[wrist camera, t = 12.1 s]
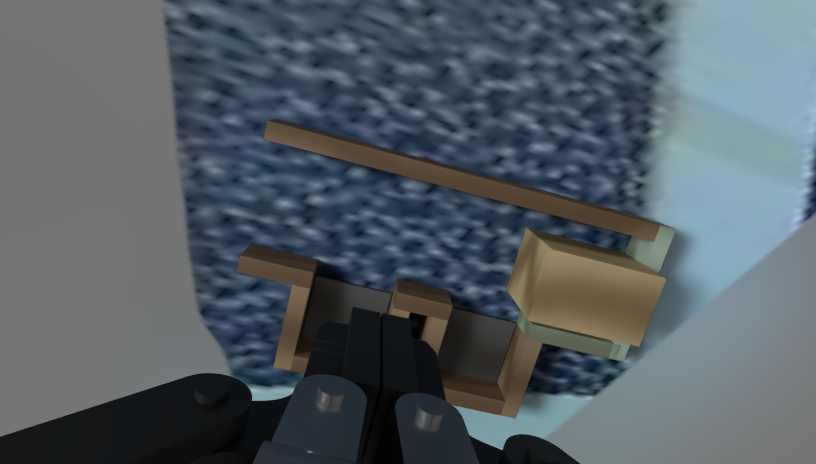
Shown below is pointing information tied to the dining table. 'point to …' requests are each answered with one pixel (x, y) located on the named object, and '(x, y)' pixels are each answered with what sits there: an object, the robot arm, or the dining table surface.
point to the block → (584, 287)
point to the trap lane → (442, 323)
